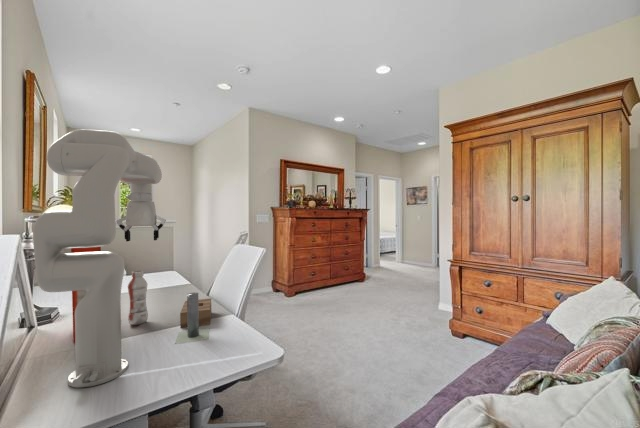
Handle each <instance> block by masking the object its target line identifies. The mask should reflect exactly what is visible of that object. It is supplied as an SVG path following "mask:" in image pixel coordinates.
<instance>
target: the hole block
mask: <svg viewBox="0 0 640 428" xmlns="http://www.w3.org/2000/svg"><path fill="white" fill-rule="evenodd" d="M198 303H199V327H201V326H210V325H211V321H212V320H211V319H212V298H209V297H208V298H201V299H199V298H198ZM179 317H180V318H179V319H180V322H179V323H180V325H179V327H180V329H184V328H185V329H186V328H188V327H187V300H184V303H183V305H182V307H181V310H180V312H179Z"/></svg>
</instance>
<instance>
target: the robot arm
mask: <svg viewBox="0 0 640 428" xmlns="http://www.w3.org/2000/svg"><path fill="white" fill-rule="evenodd" d="M46 162H47V165H48V167H49V168H50V170H52V171H53V172H54V174H57V175H60V176H66V177H67V176H69V177H70V176H71V177H80V178H79V179H78V180H77V182H76V183H75V184H74V186H73V188H72V191H71V196H72V209H71V210H70V209H67V210H66V209H62V210H58V209H57V210H49V211H45V212H43V213H42V214H40V215H39V216H38V217H37V219H36V221H35V223H34V226H33V230H32V231H33V232H32V241H33V254H34V255H33V256H34V267H35V269H34V270H35V277H36V282H37V286H38V287H39V289H40V290H42V291H44V292H47V293H64V292H72V291H79V290H80V291H83V290H86V291H87V294H86V295H85V296H84V297H83V299H82V300H81V301H80V302H79V303H78V305H77V307H76V309H75V343H74V345H75V346H74V347H75V348H74V350H75V353H74V354H75V370H74V371H72V372H71V373H70V374H69V375H68V377H67V381H66V382H67V385H68V386H69V387H72V388H79V389H80V388H90V387H94V386H98V385H101V384H104V383H108V382H110V381H112V380H114V379H117V378H118V377H120V376H122V374H123V373H125V372H126V371H127V370H128V368H129V361H128V360H127V359H125V358H122V308H121V307H122V306H121V304H122V287H123V286H122V285H123V279H124V273H125V260H124V258H123V256H122V255H120V254H119V253H116V252H113V251H102V250H101V252H82V253H71V252H67V253H66V250H67V249H71V248H89V247H101V248H102V247H106V246H109V245H111V244H112V243H113V242H114V241H115V238H116V233H117V232H116V231H117V230H116V228H117V226H116V224H117V225H118V227H119V228H120V229H121V230H122V231H123V232H124V240H125V242H130V241H131V229H132V227H152V229H153V241H158V239H159V237H160V233H159V231H160V230H161V229H162V228H163V227H164V225H165V223H166V222H167V220H166V219H165V218H164V217H161V216H159V215H157V212H156V205H155V201H153V185H157V184H159V183H160V182H161V180H162V170H161V167H160V165H159V163H158V162H157V160H156V159H155V158H152V157H151V156H149V155H147V154H143V153H141V152H138V151H136V150H134V148H133V147H132V145H131V144H130V143H129V141H128V140H127V138H126V137H125V136H124V135H122V134H121V133H120V132H117V131H110V130H99V129H85V128H84V129H81V128H80V129H74V130H72V131H70V132H68V133H66V134H64V135H63V136H61V137H60V138H58V139H57V140H56V141H54V142H53V143H52V144H51V145H50V146H49V147H48V150H47V152H46ZM120 182H122V183H124V184H127V185H129V187H130V192H129V194H127V195H126V196H125V198H126V199H127V200H129V201H127V205H126V212H125V216H124V217H120V218H119V219H117V220H116V207H115V206H116V204H115V203H116V202H115V201H116V200H115V195H116V188H117V186H118V184H119V183H120ZM157 220H158V221H160V223H159V224H158V225H157ZM123 222H125V225H124V224H123Z"/></svg>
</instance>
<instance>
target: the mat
mask: <svg viewBox="0 0 640 428" xmlns="http://www.w3.org/2000/svg"><path fill="white" fill-rule="evenodd" d="M210 332H211V331H210V328H202V329H201V328H199V336H197V337H194V338H189V337H188V330H185V331H179V332H178V334H177V337H176V339H175V342H174V345H178V344H184V343H194V342H200V341H207V340H209V339H210V338H209V337H210Z"/></svg>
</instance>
